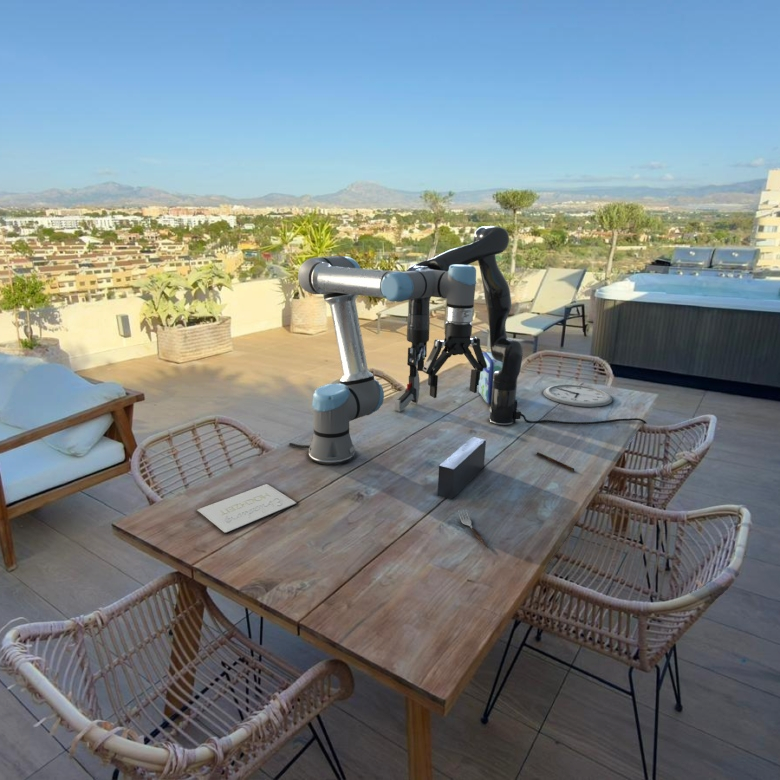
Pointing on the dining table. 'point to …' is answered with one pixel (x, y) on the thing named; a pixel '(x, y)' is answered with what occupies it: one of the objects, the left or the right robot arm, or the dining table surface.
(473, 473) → the bar
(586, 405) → the wall clock
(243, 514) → the invitation card
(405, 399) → the toy gun
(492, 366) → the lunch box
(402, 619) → the dining table surface
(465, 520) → the fork
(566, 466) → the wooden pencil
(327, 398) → the left robot arm
